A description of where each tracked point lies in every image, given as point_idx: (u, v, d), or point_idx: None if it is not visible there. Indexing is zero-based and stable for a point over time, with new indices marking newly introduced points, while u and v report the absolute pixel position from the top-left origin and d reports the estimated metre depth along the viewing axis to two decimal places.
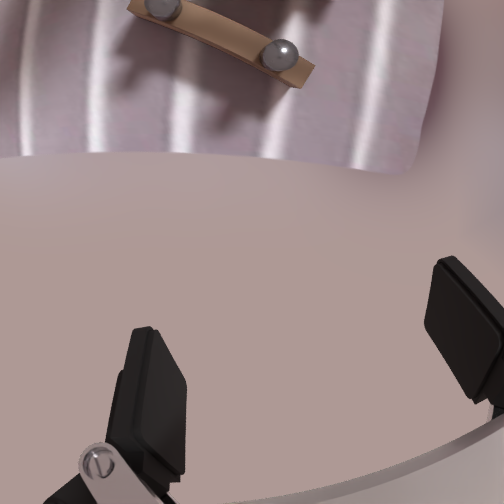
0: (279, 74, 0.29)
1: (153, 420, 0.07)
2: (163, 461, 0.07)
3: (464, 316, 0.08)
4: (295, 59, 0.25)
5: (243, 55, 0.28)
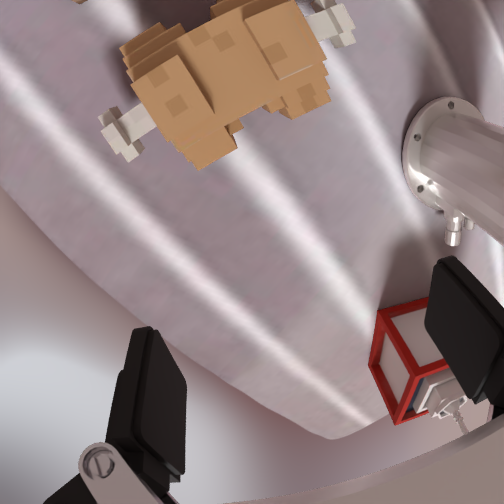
0: None
1: (153, 420, 0.07)
2: (163, 461, 0.07)
3: (464, 316, 0.08)
4: None
5: None
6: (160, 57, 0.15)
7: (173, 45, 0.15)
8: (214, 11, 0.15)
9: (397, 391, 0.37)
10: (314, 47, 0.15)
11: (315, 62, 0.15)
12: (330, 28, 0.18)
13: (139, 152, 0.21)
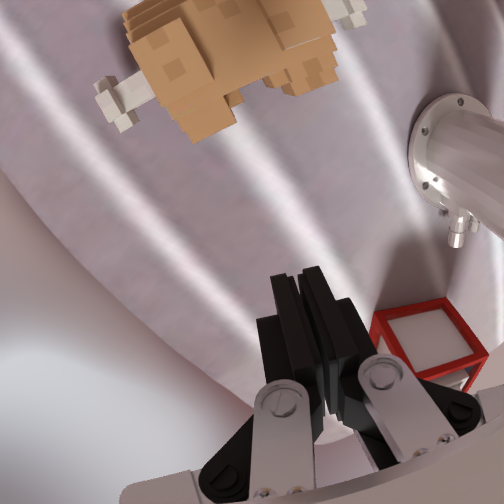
0: None
1: None
2: (320, 398, 0.08)
3: (314, 329, 0.09)
4: None
5: None
6: (161, 22, 0.14)
7: (176, 10, 0.13)
8: None
9: None
10: (323, 19, 0.13)
11: (324, 34, 0.14)
12: (341, 8, 0.16)
13: (133, 123, 0.19)
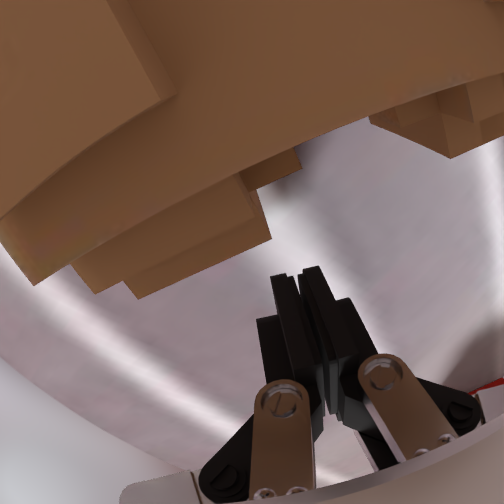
0: None
1: None
2: (320, 398, 0.08)
3: (314, 329, 0.09)
4: None
5: None
6: None
7: None
8: None
9: None
10: None
11: None
12: None
13: None
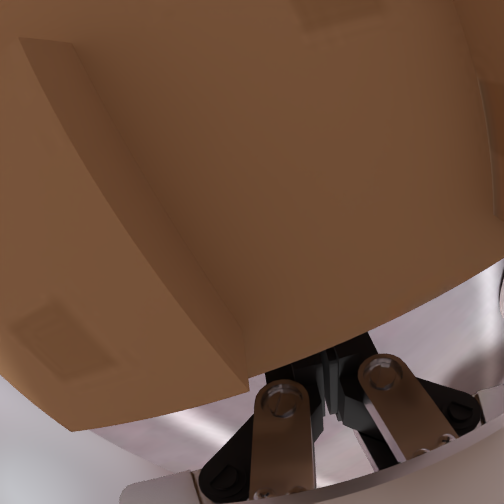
0: None
1: None
2: (320, 398, 0.08)
3: None
4: None
5: None
6: None
7: None
8: None
9: None
10: None
11: None
12: None
13: None
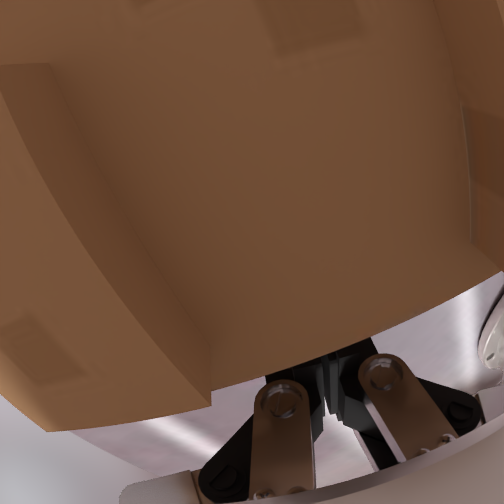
0: None
1: None
2: (320, 398, 0.08)
3: None
4: None
5: None
6: None
7: (29, 9, 0.02)
8: None
9: None
10: None
11: None
12: None
13: None
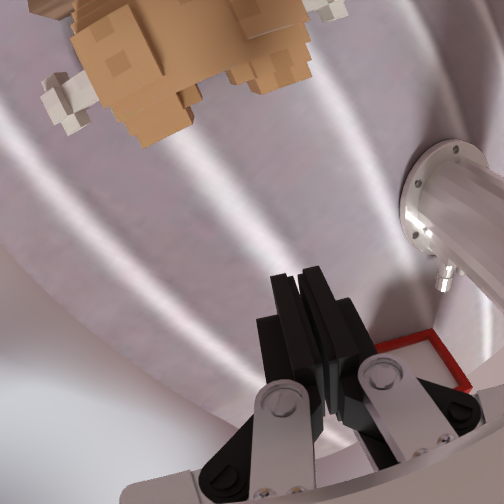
0: None
1: None
2: (320, 398, 0.08)
3: (314, 329, 0.09)
4: None
5: None
6: (109, 10, 0.11)
7: None
8: None
9: None
10: (296, 5, 0.11)
11: (295, 22, 0.12)
12: None
13: (81, 124, 0.16)
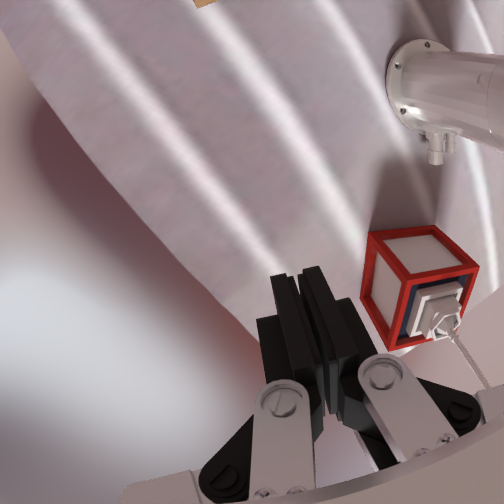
0: None
1: None
2: (320, 398, 0.08)
3: (314, 329, 0.09)
4: None
5: None
6: None
7: None
8: None
9: (390, 317, 0.40)
10: None
11: None
12: None
13: None
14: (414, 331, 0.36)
